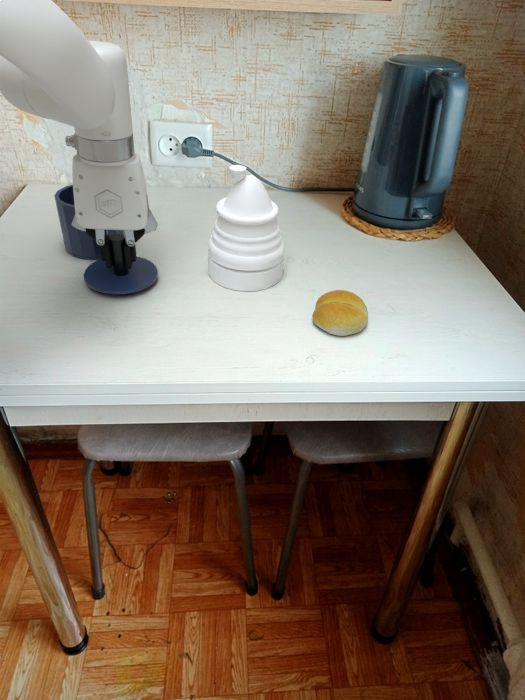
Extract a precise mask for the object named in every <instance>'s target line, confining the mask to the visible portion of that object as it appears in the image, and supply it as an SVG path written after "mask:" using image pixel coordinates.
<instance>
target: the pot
mask: <svg viewBox="0 0 525 700" xmlns="http://www.w3.org/2000/svg"><path fill="white" fill-rule="evenodd" d="M53 197H54V202H55V206H56V211H57V216H58V220H59V226H60V230H61V231H60V232H61V235H62V240H63V244H64V249H65V251H66V253H67V254H69V255H70V256H72V257H74V258H77V259H81V260H94V261H97V260H100V259H102V257H101V250H100V245H98V244H97V242H96V240H95V239H93V238H92V237H91V236H90V235H89V234H87V233H86V232H85V231H82V230H79V229H77V228H75V227H73V226H72V221H73V218H74V215H75V204H74V193H73V184H68V185H66V186H63V187H61V188H60V189H58V190H57V191H56V192H55V193H54V195H53ZM107 233H108V236H109V237H110V236H111V235H113V234H121V235H124V236H125V241H126V234H125V230H107Z"/></svg>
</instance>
